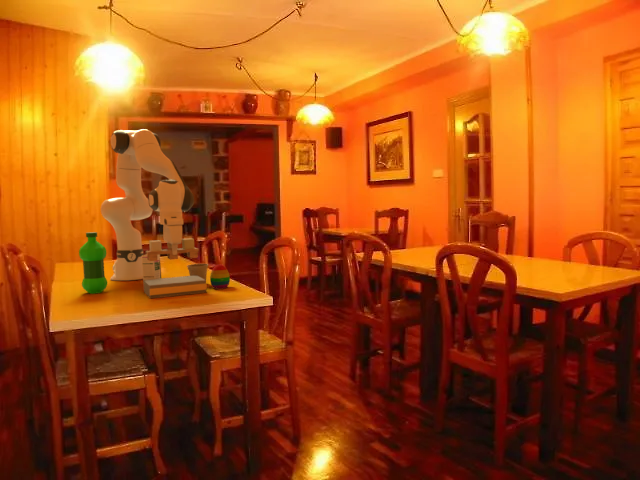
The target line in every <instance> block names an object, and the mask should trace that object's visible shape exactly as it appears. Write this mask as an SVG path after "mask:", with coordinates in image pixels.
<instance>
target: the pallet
mask: <svg viewBox="0 0 640 480" xmlns="http://www.w3.org/2000/svg"><path fill="white" fill-rule="evenodd" d="M183 253H186V256H187V258H189V259H194V258H195V259H196V258H198V257H199V255H198V253H199V248H198V247H194V249H183V248H177V255H173V254H172V249H168V248H165V249H162V251H154V252H151V251H150V250H145V255H146V254H147V260H149V261H157V255H158V254H160V255H167V259H168V260H178V259H179V254H183Z"/></svg>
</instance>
